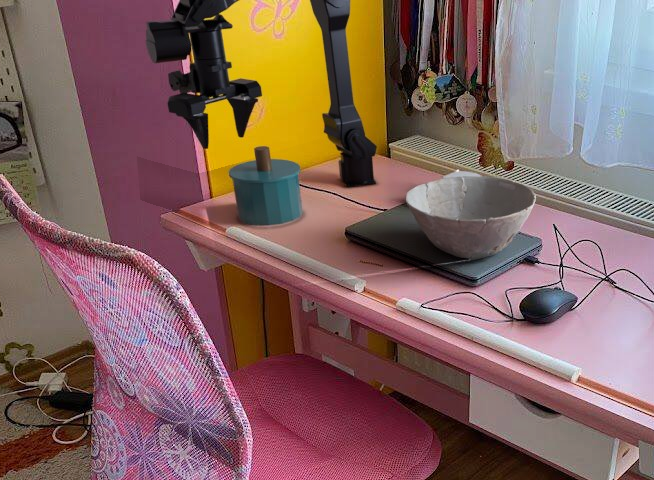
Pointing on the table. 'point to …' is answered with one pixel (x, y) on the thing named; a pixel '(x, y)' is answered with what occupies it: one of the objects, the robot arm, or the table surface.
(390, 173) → the table surface
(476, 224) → the ceramic bowl
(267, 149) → the lid
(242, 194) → the canister
